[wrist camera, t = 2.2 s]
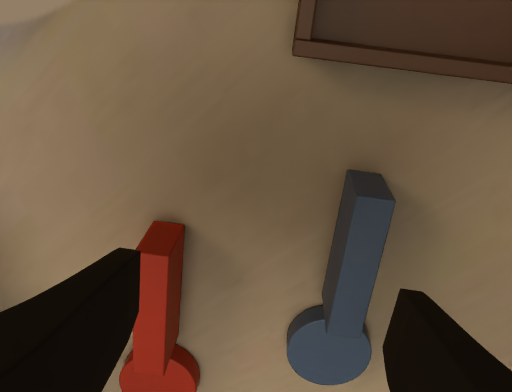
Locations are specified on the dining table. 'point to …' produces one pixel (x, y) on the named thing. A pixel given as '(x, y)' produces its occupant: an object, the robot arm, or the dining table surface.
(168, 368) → the red block with disc
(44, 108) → the dining table surface
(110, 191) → the dining table surface
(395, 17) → the tray
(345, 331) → the blue block and disc
